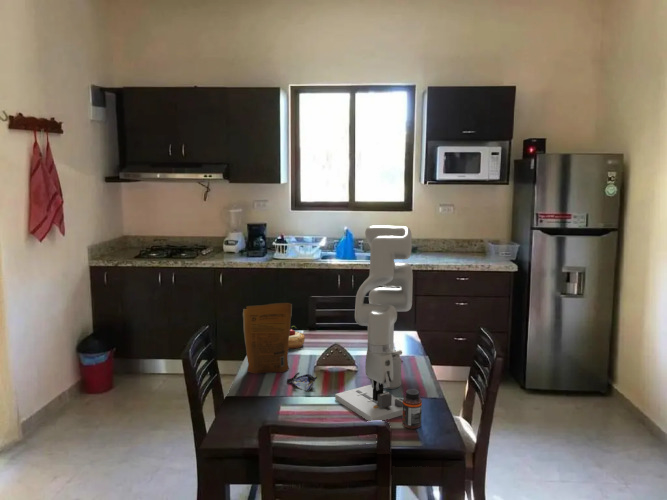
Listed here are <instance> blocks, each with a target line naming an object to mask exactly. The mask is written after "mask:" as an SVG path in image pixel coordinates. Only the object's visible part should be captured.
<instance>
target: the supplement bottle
mask: <svg viewBox="0 0 667 500" xmlns="http://www.w3.org/2000/svg"><path fill="white" fill-rule="evenodd" d="M405 393H406V394H405V396H404V397H403V398H402V399H403V415H402V425H403V426H404V427H405V428H407V429H418V428H420V427H421V426H422V413H423V412H422V411H423V409H422V408H423V400H422V398H421V397H420V390H417V389H412V388H409V389H407V390H406V391H405Z"/></svg>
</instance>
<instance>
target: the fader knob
mask: <svg viewBox="0 0 667 500" xmlns="http://www.w3.org/2000/svg"><path fill="white" fill-rule="evenodd" d="M392 396H393V395H392V393H390V392H388V391H385V393H381V394H378V403H377V406H379V407H380V408H385V407H389V406H391V404H392Z"/></svg>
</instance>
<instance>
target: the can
mask: <svg viewBox="0 0 667 500" xmlns="http://www.w3.org/2000/svg"><path fill="white" fill-rule="evenodd" d="M391 355H392V361H393V381H392V382H390V381H389V385H390V387H388V388H387V389H388V390H394V389H398V388H399V387H400V386H401V385H402V358H401V355H399V354H397V353H391Z"/></svg>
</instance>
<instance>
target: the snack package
mask: <svg viewBox="0 0 667 500" xmlns="http://www.w3.org/2000/svg"><path fill="white" fill-rule="evenodd" d="M300 373H301V372H296V373H295V374H294V375H293V377H291V378H287V380H286V382H287V383H289V384H292V385H295V386H296V387H297V388H298V389H301V390H302V386H300V384H301V383H297V382H303V383H306V384H307V386H306V388H307V389H306V390H304V391H306V392H309V391H310V390H311V389H312V387H314V384H315V382H316V380H317V378H318V376H313V375H311V374H309V373H306V374H303V375H300ZM299 375H300V376H299ZM303 383H302V384H303Z"/></svg>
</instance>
